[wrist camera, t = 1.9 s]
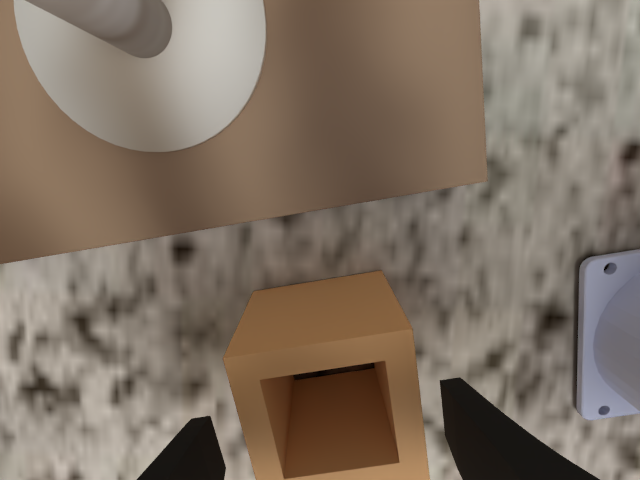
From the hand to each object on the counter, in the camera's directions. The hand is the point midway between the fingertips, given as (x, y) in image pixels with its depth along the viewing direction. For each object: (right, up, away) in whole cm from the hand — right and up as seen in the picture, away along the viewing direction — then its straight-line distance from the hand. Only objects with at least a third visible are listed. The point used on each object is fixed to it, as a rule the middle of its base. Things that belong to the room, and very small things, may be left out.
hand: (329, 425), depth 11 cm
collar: (0, +1, +5) cm, 5 cm away
